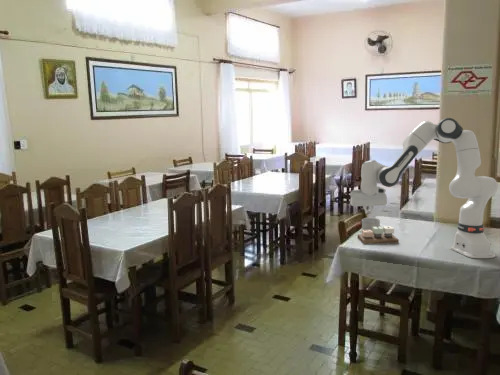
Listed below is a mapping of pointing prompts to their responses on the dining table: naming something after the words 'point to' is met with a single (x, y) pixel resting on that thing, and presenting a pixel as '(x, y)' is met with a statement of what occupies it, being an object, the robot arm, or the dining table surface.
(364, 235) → the key three
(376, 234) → the key two
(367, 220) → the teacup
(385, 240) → the brown flat board
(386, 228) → the key one
